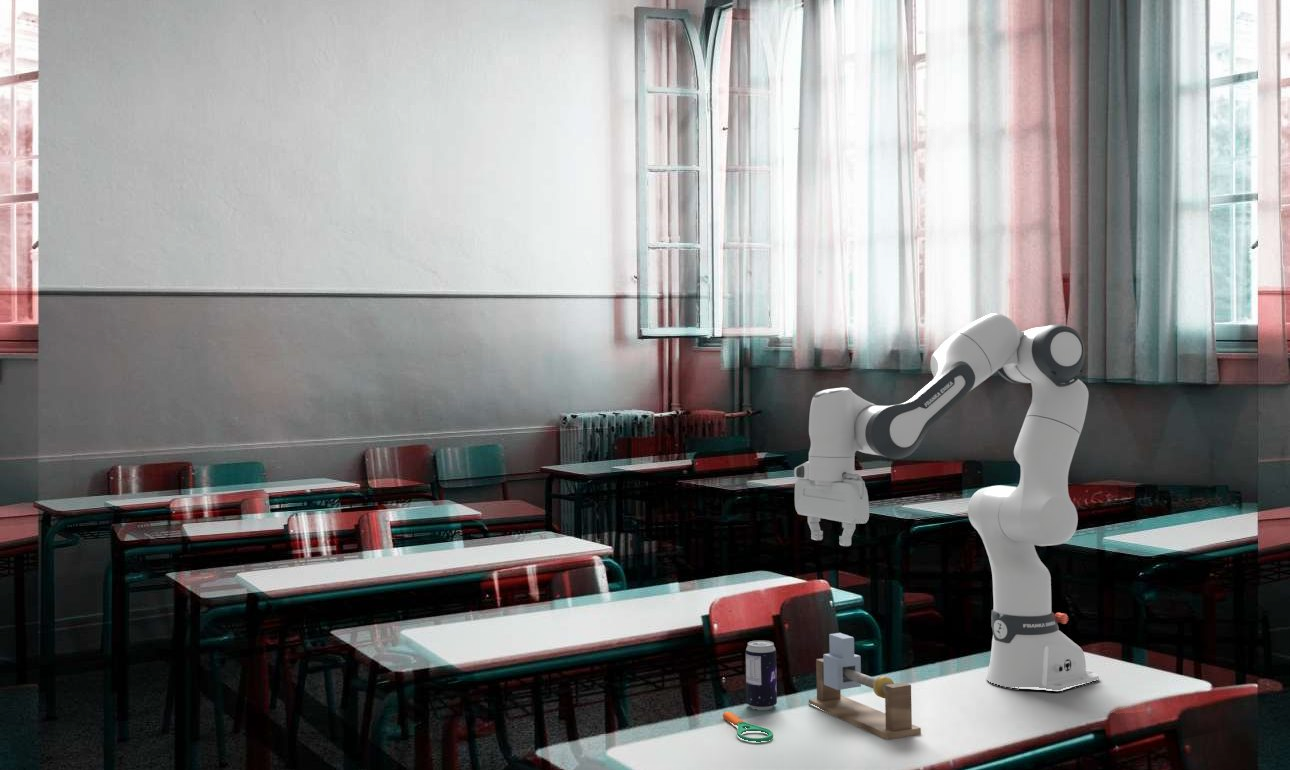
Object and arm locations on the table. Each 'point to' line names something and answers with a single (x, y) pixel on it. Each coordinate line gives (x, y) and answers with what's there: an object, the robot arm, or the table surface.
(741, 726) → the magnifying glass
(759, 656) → the beverage can
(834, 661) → the stacked grey blocks
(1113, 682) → the table surface
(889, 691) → the wooden rod rail
